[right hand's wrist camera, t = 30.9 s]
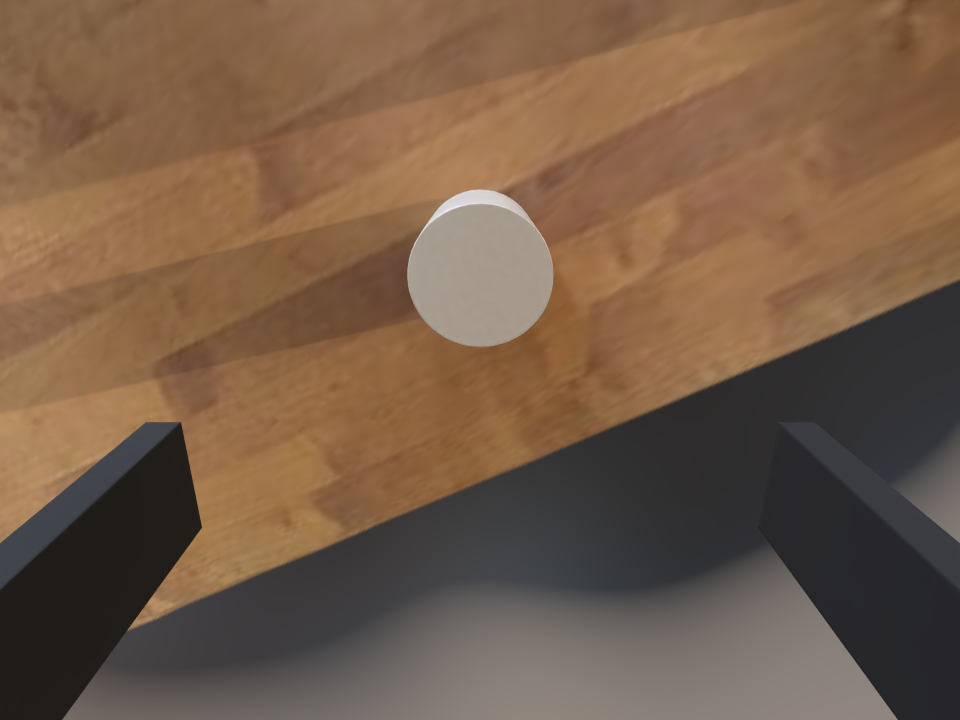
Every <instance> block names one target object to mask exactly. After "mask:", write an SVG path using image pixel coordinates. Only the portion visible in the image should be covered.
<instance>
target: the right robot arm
mask: <svg viewBox="0 0 960 720" xmlns="http://www.w3.org/2000/svg"><path fill="white" fill-rule="evenodd" d="M201 528H202V525H201V520H200V515H199V510H198V505H197V500H196V495H195V490H194V485H193V480H192V475H191V470H190V465H189V460H188V455H187V450H186V445H185V440H184V435H183V430H182V425H181V422H146V423H145V424H143V425H142V426H141V427H140V428H139V429H137V430H136V431H135V432H134V433H133V434H131V435H130V436H129V437H128V438H127V439H125V440H124V441H123V442H122V443H121V444H119V445H118V446H117V447H116V448H115V449H113V450H112V451H111V452H110V453H109V454H107V455H106V456H105V457H104V458H102V459H101V460H100V461H99V462H98V463H96V464H95V465H94V466H93V467H92V468H90V469H89V470H88V471H87V472H86V473H84V474H83V475H82V476H81V477H80V478H78V479H77V480H76V481H75V482H74V483H72V484H71V485H70V486H69V487H68V488H66V489H65V490H64V491H63V492H61V493H60V494H59V495H58V496H57V497H55V498H54V499H53V500H52V501H51V502H49V503H48V504H47V505H46V506H45V507H43V508H42V509H41V510H40V511H39V512H37V513H36V514H35V515H34V516H33V517H31V518H30V519H29V520H28V521H27V522H25V523H24V524H23V525H22V526H20V527H19V528H18V529H17V530H16V531H14V532H13V533H12V534H11V535H10V536H8V537H7V538H6V539H5V540H4V541H2V542H1V543H0V720H62V719H63V718H64V716H65V715H66V714H67V712H68V711H69V710H70V708H71V707H72V705H73V704H74V703H75V701H76V700H77V699H78V697H79V696H80V694H81V693H82V692H83V690H84V689H85V688H86V686H87V685H88V683H89V682H90V681H91V679H92V678H93V677H94V675H95V674H96V672H97V671H98V670H99V668H100V667H101V666H102V664H103V663H104V661H105V660H106V659H107V657H108V656H109V655H110V653H111V652H112V650H113V649H114V648H115V646H116V645H117V644H118V642H119V641H120V639H121V638H122V637H123V635H124V634H125V633H126V631H127V630H128V628H129V627H130V626H131V624H132V623H133V622H134V620H135V619H136V617H137V616H138V615H139V613H140V612H141V611H142V609H143V608H144V606H145V605H146V604H147V602H148V601H149V600H150V598H151V597H152V595H153V594H154V593H155V591H156V590H157V589H158V587H159V586H160V584H161V583H162V582H163V580H164V579H165V578H166V576H167V575H168V573H169V572H170V571H171V569H172V568H173V567H174V565H175V564H176V562H177V561H178V560H179V558H180V557H181V556H182V554H183V553H184V552H185V550H186V549H187V547H188V546H189V545H190V543H191V542H192V541H193V539H194V538H195V536H196V535H197V534H198V532H199V531H200V530H201ZM758 528H759V530H760V531H761V532H762V534H763V535H764V536H765V538H766V539H767V541H768V542H769V543H770V545H771V546H772V547H773V549H774V550H775V551H776V553H777V554H778V556H779V557H780V558H781V560H782V561H783V562H784V564H785V565H786V567H787V568H788V569H789V571H790V572H791V573H792V575H793V576H794V578H795V579H796V580H797V582H798V583H799V584H800V586H801V587H802V589H803V590H804V591H805V593H806V594H807V595H808V597H809V598H810V600H811V601H812V602H813V604H814V605H815V606H816V608H817V609H818V611H819V612H820V613H821V615H822V616H823V617H824V619H825V620H826V622H827V623H828V624H829V626H830V627H831V628H832V630H833V631H834V633H835V634H836V635H837V637H838V638H839V639H840V641H841V642H842V644H843V645H844V646H845V648H846V649H847V650H848V652H849V653H850V655H851V656H852V657H853V659H854V660H855V661H856V663H857V664H858V666H859V667H860V668H861V670H862V671H863V672H864V674H865V675H866V677H867V678H868V679H869V681H870V682H871V683H872V685H873V686H874V688H875V689H876V690H877V692H878V693H879V694H880V696H881V697H882V699H883V700H884V701H885V703H886V704H887V705H888V707H889V708H890V710H891V711H892V712H893V714H894V715H895V716H896V718H897V719H898V720H960V543H959V542H958V541H956V540H955V539H954V538H953V537H952V536H950V535H949V534H948V533H947V532H946V531H944V530H943V529H942V528H941V527H940V526H938V525H937V524H936V523H935V522H933V521H932V520H931V519H930V518H929V517H927V516H926V515H925V514H924V513H922V512H921V511H920V510H919V509H918V508H917V507H915V506H914V505H913V504H912V503H911V502H909V501H908V500H907V499H906V498H905V497H903V496H902V495H901V494H900V493H899V492H897V491H896V490H895V489H894V488H892V487H891V486H890V485H889V484H888V483H886V482H885V481H884V480H883V479H882V478H880V477H879V476H878V475H877V474H876V473H874V472H873V471H872V470H871V469H870V468H868V467H867V466H866V465H865V464H864V463H862V462H861V461H860V460H859V459H857V458H856V457H855V456H854V455H853V454H851V453H850V452H849V451H848V450H847V449H845V448H844V447H843V446H842V445H841V444H839V443H838V442H837V441H836V440H835V439H833V438H832V437H831V436H830V435H829V434H827V433H826V432H825V431H824V430H823V429H821V428H820V427H819V426H818V425H817V424H815V423H814V422H780V423H779V425H778V430H777V435H776V440H775V445H774V450H773V455H772V460H771V465H770V470H769V475H768V480H767V485H766V490H765V496H764V500H763V505H762V510H761V515H760V520H759V525H758Z"/></svg>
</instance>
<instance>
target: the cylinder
mask: <svg viewBox="0 0 960 720" xmlns="http://www.w3.org/2000/svg"><path fill="white" fill-rule="evenodd" d="M407 279H408V287H409V292H410V296H411V299H412V301H413V304H414V306H415V308H416V310H417V311H418V313H419V315H420V316H421V317H422V319H423V320H424V321H425V322H426V323H427V324H428V325H429V327H430V328H432V329H433V330H434V331H435V332H437V333H438V334H439V335H441V336H443V337H444V338H446V339H448V340H450V341H452V342H455V343H458V344H461V345H466V346H471V347H489V346H495V345H500V344H503V343H506V342H508V341H511V340H513V339H515V338H517V337H518V336H520V335H521V334H523V333H524V332H526V331H527V330H528V329H529V328H530V327H531V326H532V325H533V324H534V323H535V322H536V321H537V320H538V318H539V317H540V316H541V314H542V313H543V311H544V309H545V307H546V306H547V303H548V301H549V298H550V295H551V291H552V286H553V264H552V258H551V255H550V252H549V249H548V247H547V244H546V242H545V240H544V239H543V237H542V236H541V234H540V232H539V231H538V229H537V228H536V227H535V225H534V224H533V222H532V221H531V219H530V218H529V216H528V215H527V213H526V212H525V211H524V210H523V209H522V207H521V206H519V205H518V204H517V203H516V202H515V201H513V200H512V199H511V198H509V197H507V196H505V195H503V194H501V193H498V192H494V191H490V190H471V191H466V192H463V193H460V194H457V195H456V196H454V197H452V198H450V199H449V200H447V201H446V202H444V203H443V204H442V205H441V206H440V207H439V208H438V209H437V211H436V212H435V213H434V214H433V216H432V217H431V219H430V220H429V222H428V223H427V225H426V226H425V228H424V229H423V231H422V232H421V234H420V235H419V237H418V239H417V240H416V242H415V244H414V246H413V249H412V251H411V255H410V258H409V263H408V276H407Z"/></svg>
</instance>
